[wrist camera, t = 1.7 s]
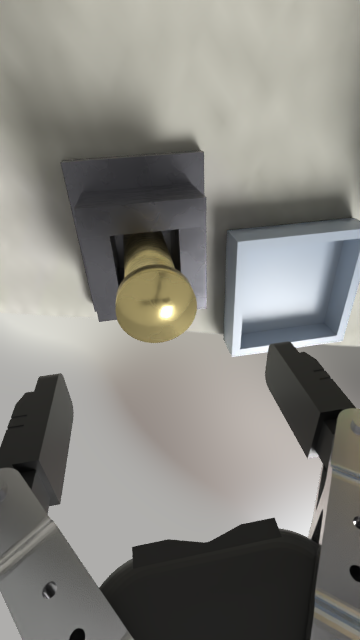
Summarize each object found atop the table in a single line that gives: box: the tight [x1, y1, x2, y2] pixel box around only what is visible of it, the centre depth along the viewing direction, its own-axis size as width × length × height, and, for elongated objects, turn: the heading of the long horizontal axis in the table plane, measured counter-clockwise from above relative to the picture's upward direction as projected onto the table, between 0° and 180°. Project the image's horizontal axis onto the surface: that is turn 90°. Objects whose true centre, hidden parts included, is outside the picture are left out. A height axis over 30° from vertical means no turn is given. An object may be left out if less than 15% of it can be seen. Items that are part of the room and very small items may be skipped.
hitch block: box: [61, 151, 207, 322], centre depth 24 cm, size 12×10×6 cm
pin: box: [116, 231, 197, 343], centre depth 21 cm, size 4×4×11 cm
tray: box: [224, 218, 360, 357], centre depth 30 cm, size 12×12×3 cm
